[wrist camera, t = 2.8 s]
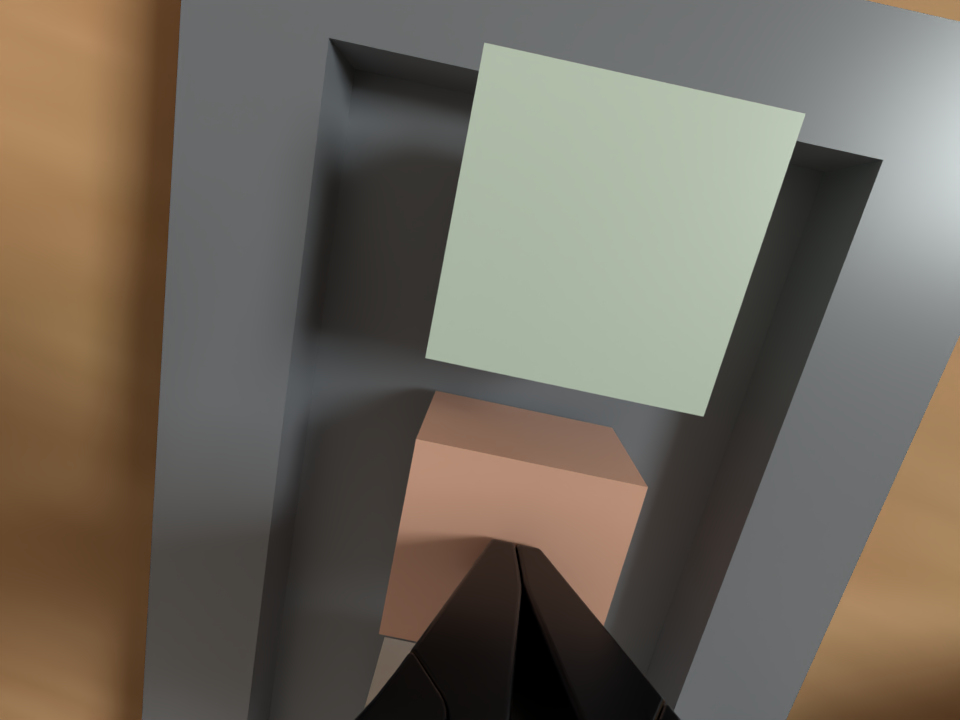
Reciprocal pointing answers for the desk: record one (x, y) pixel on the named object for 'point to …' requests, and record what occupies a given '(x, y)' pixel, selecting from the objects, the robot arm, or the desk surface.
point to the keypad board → (414, 379)
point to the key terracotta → (509, 504)
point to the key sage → (605, 228)
